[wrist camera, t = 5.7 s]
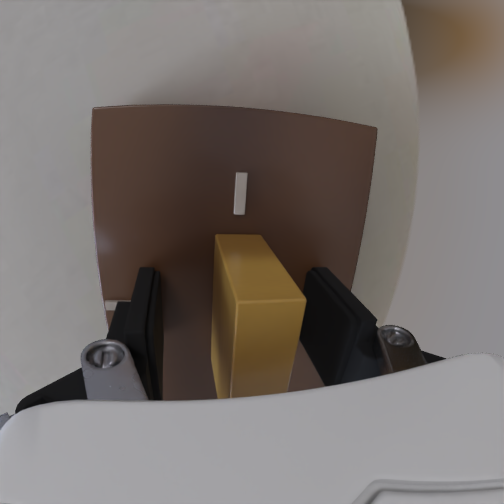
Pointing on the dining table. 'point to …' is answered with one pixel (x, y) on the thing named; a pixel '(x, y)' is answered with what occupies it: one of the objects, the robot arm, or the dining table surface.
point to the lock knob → (252, 318)
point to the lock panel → (221, 211)
